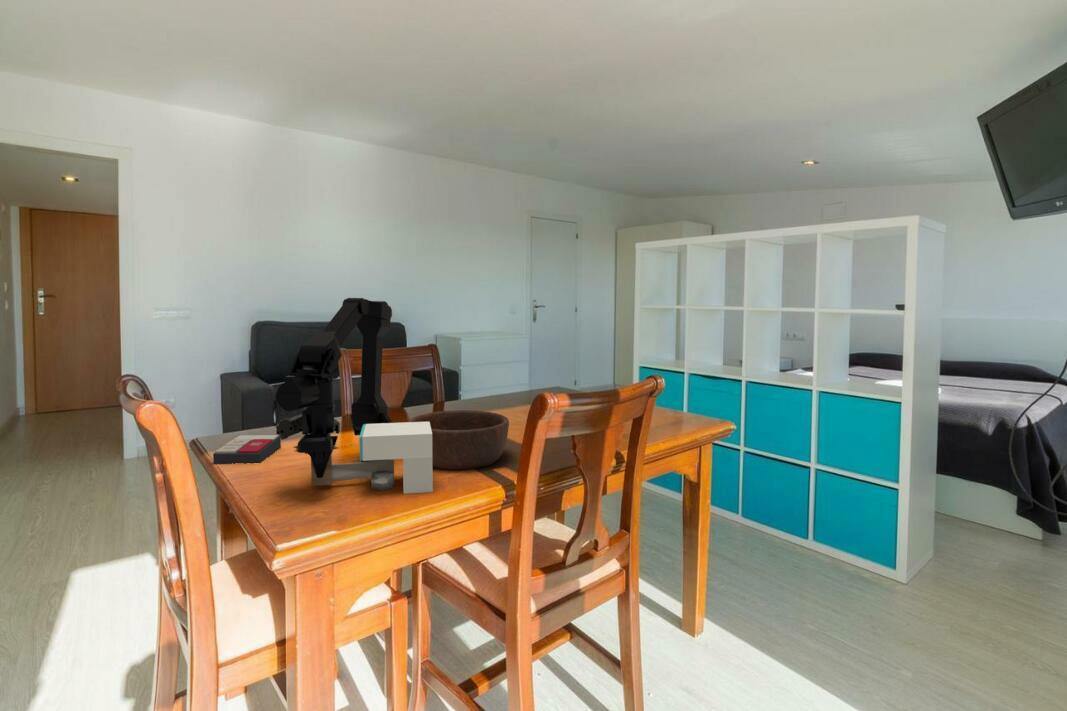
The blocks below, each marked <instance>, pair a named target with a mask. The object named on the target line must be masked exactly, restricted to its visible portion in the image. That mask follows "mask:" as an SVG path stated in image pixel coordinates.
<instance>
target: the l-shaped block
mask: <svg viewBox="0 0 1067 711" xmlns="http://www.w3.org/2000/svg"><path fill="white" fill-rule="evenodd" d="M358 438H359V439H358V440H359V441H358V442H359V462H361V460H363V461H368V460H387V459H388V460H392V459H394V460H402V475H403V476H402V477H403V480H402V481H403V483H402V484H403V487H402V488H403V494H404V495H405V494H407V495H408V494H420V493H421V494H422V493H423V494H424V493H433V488H434V487H433V486H434V484H433V482H434V481H433V469H434V468H433V467H432V431H431V426H430V422H408V421H407V422H393V423H378V424H363V427H362V430H361V433H360V435H359V437H358Z"/></svg>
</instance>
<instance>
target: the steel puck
mask: <svg viewBox="0 0 1067 711" xmlns="http://www.w3.org/2000/svg"><path fill="white" fill-rule="evenodd" d="M370 481H371V482H370V484H371V489H373V490H376V491H377V490H378V491H384V490H390V489H393V488H394V487H395V471H394V472H393V471H388V470H382V471H376V472H373V473H372V474H371V478H370Z"/></svg>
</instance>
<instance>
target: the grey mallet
mask: <svg viewBox="0 0 1067 711" xmlns="http://www.w3.org/2000/svg"><path fill="white" fill-rule="evenodd" d="M332 454H333V452H332V453H331V455H330V458H329V461H328V464H327V467H326V469H325V472H324V475H323V477H322V478H317V476H316V472H315V469H314V466H313V463H312V459H311V458H310V466H311V467H310V468H311V469H310V470H311V472H310V473H311V474H310V475H311V486H312V487H313V486H322V485H332V484H333V482H338V481H339V482H340V481H349V480H351V481H352V480H361V479H371V474H372V473H373V472H376V471H382V470H388V471H393V472H394V473H395V459H388V460H380V461H368V462H361V461H359V462H358V461H355V462H347V463H334V464H333V460H332V458H333V456H332Z"/></svg>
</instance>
